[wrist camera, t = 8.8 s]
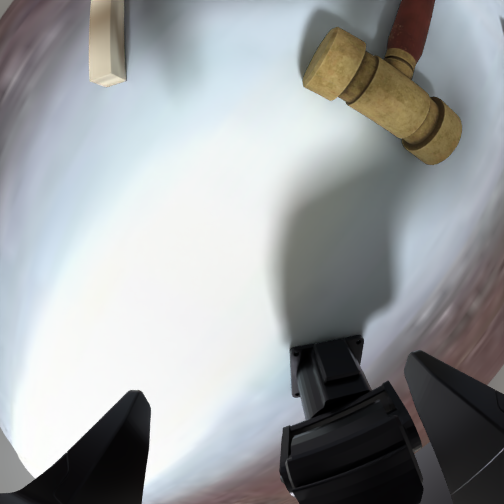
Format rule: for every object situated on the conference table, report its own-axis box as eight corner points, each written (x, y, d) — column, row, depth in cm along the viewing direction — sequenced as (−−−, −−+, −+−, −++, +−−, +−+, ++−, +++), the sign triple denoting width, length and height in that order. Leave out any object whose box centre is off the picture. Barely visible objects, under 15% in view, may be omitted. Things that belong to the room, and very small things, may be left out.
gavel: (391, -79, 6) (481, -11, 8) (371, -57, 10) (454, 2, 12) (314, 72, 11) (452, 168, 13) (294, 93, 16) (412, 164, 17)
